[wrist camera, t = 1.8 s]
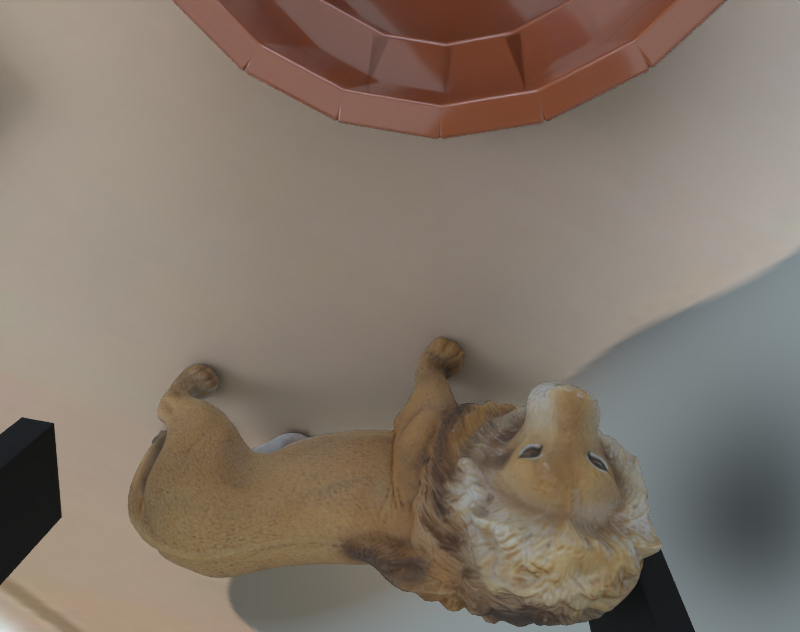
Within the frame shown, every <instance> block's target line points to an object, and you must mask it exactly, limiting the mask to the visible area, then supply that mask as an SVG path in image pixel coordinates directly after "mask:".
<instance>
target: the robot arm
mask: <svg viewBox="0 0 800 632" xmlns="http://www.w3.org/2000/svg"><path fill="white" fill-rule="evenodd" d="M61 517H62V514H61V502H60V490H59V478H58V466H57V454H56V442H55V430H54V423H49V422H44V421H39V420H33V419H28V418H23V417H22V418H20V419H19V420H18V421H17V422H15V423H14V424H13V425H12V426H10V427H9V428H8V429H6V430H5V431H4V432H3V433H1V434H0V585H1V584H2V583H3V581H4V580H5V579H6V578H7V577H8V576H9V575H10V574H11V573H12V572H13V570H14V569H15V568H16V567H17V566H18V565H19V564H20V563H21V562H22V560H23V559H24V558H25V557H26V556H27V555H28V554H29V553H30V552H31V550H32V549H33V548H34V547H35V546H36V545H37V544H38V543H39V542H40V540H41V539H42V538H43V537H44V536H45V535H46V534H47V533H48V532H49V531H50V529H51V528H52V527H53V526H54V525H55V524H56V523H57V522H58V521H59V519H60V518H61ZM589 625H590V629H591V632H695V630H694V628H693V625H692V623H691V621H690V618H689V616H688V614H687V611H686V609H685V606H684V604H683V602H682V599H681V597H680V594H679V592H678V589H677V587H676V584H675V582H674V580H673V578H672V575H671V573H670V570H669V568H668V565H667V563H666V561H665V558H664V556H663V553H662V551H661V549H660V550H659V551H658V552H656V553H655V554H653V555H651V556H648V557H646V558H643V566H642V570H641V572H640V577H639V580H638V581H637V584H636V585H635V587H634V588H633V590H632V591H631V592H630V593H629V594H628V595H627V596H626V597H625V598H624V599H623V600H622V601H621V602H620V603H619V604H618V605H617V606H616V607H615V608H613V609H612V610H611V611H608V612H605V613H604V614H603V615H602V616H601V617H600V618H597V619H593V620H589Z"/></svg>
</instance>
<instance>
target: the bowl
mask: <svg viewBox="0 0 800 632" xmlns="http://www.w3.org/2000/svg"><path fill="white" fill-rule="evenodd" d="M172 1H173V2H174V3H175V4H176V5H177V6H178V7H179V8H180V9H181V10H182V11H183V12H184V13H185V14H186V15H187V16H188V17H189V18H190V19H191V20H192V21H193V22H194V23H195V24H196V25H197V26H198V27H199V28H200V29H201V30H202V31H203V32H204V33H205V34H206V35H207V36H208V37H209V38H210V39H211V40H212V41H213V42H214V43H215V44H216V45H217V46H218V47H219V48H220V49H221V50H222V51H223V52H224V53H225V54H226V55H227V56H228V57H229V58H230V59H231V60H232V61H233V62H234V63H235V64H236V65H237V66H238V67H239V68H240V69H241V70H243V71H245V72H246V73H247V74H248V75H250V76H252V77H254V78H256V79H258V80H260V81H262V82H263V83H265V84H267V85H269V86H271V87H273V88H275V89H277V90H278V91H280V92H282V93H284V94H286V95H288V96H290V97H292V98H293V99H295V100H297V101H299V102H301V103H303V104H305V105H307V106H308V107H310V108H312V109H314V110H316V111H318V112H320V113H322V114H323V115H325V116H327V117H329V118H331V119H333V120H338V122H340V123H345V124H351V125H356V126H362V127H368V128H374V129H380V130H386V131H391V132H397V133H403V134H409V135H415V136H421V137H427V138H432V139H439V137H440V138H442V139H446V138H452V137H459V136H465V135H471V134H478V133H484V132H490V131H497V130H503V129H510V128H516V127H522V126H529V125H535V124H541V123H542V122H544V120H545V121H550V120H552V119H554V118H556V117H558V116H560V115H562V114H564V113H566V112H568V111H570V110H572V109H574V108H576V107H578V106H580V105H582V104H584V103H586V102H588V101H590V100H592V99H594V98H596V97H598V96H600V95H602V94H604V93H606V92H608V91H610V90H612V89H614V88H616V87H618V86H620V85H622V84H624V83H626V82H628V81H630V80H632V79H634V78H636V77H638V76H640V75H642V74H644V73H646V72H647V71H648V70H649V68H653V67H655V66H656V65H657V64H658V63H659V62H660V61H661V60H662V59H664V58H665V57H666V56H667V55H668V54H669V53H670V52H671V51H672V50H673V49H674V48H676V47H677V46H678V45H679V44H680V43H681V42H682V41H683V40H684V39H685V38H687V37H688V36H689V35H690V34H691V33H692V32H693V31H694V30H695V29H696V28H698V27H699V26H700V25H701V24H702V23H703V22H704V21H705V20H706V19H707V18H708V17H710V16H711V15H712V14H713V13H714V12H715V11H716V10H717V9H718V8H719V7H721V6H722V5H723V4H724V3H725V2H726V1H727V0H172Z"/></svg>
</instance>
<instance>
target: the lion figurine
mask: <svg viewBox="0 0 800 632" xmlns="http://www.w3.org/2000/svg"><path fill="white" fill-rule="evenodd" d="M463 357H464V352H463V351H462V350H461V349H460V348H459V347H458V345H457V344H456V343H455V342H453V341H449V340H447V339H445V338H443V337H439V338H437V339H436V340H435V341H433V342H432V343H431V344H430V345H429V346H428V347H427V349H426V350H425V351H424V353H423V354H422V355H421V357H420V359H419V362H418V369H417V372H416V374H415V382H416V384H415V387H414V390H413V392H412V394H411V396H410V398H409V400H408V401H407V403H406V405H405V406H404V408H403V409H402V410H401V411H400V412H399V413H398V415H397V417H396V419H395V421H394V430H392V431H390V430H352V431H343V432H336V433H329V434H324V435H318V436H313V437H309V438H308V437H306V436H304V435H302V434H299V433H286V434H282V435H280V436H278V437H276V438H274V439H273V440H271V441H269V442H267V443H264V444H262V445H260V446H258V447H255V448H253V449H250V448H249V447H248V446H247V445H246V443H245V442H244V441H243V439H242V437H241V436H240V434H239V432H238V431H237V429H236V427H235V426H234V425H233V423H232V422H231V421H230V419H229V418H228V417H227V416H226V415H225V414H224V413H223V412H222V411H221V410H220V409H219V408H217V407H215V406H213V405H211V404H209V403H207V402H205V401H202V400H201V399H204V398H207V397H210V396H212V395H213V394H214V393H215V392H216V390H217V387H218V384H219V378H218V377H217V376H216V375H215V372H214V371H213V370H212V369H211V368H210V367H208V366H206V365H203V364H195V365H192V366H190V367H188V368H187V369H185V370H184V371H183V372H182V373H181V374H180V375H179V376H178V378H177V379H176V380H175V381H174V382H173V384H172V385H171V387H170V388H169V390H168V392H167V393H166V394H165V395H164V396H163V398H162V399H161V401H160V404H159V406H158V409H157V415H158V418H159V419H160V420H161V421H162V422H164V423H165V424H166V426H167V431H160V433H159V435H158V436H156V437H155V438H154V439H153V441H152V445H151V447H150V448H149V449H148V451H147V453H146V454H145V456H144V458H143V459H142V461H141V463H140V465H139V467H138V469H137V471H136V473H135V475H134V478H133V481H132V483H131V486H130V491H129V496H128V511H129V517H130V520H131V523H132V525H133V526H134V528H135V529H136V531H137V532H138V533H139V535H140V536H141V537H142V539H144V540H145V541H146V542H147V543H148V544H149V545H151V546H152V547H154V548H156V549H157V550H158V551H159V553H160V554H161V555H162V556H163V557H164V558H166V559H167V560H169V561H171V562H173V563H175V564H177V565H179V566H182V567H184V568H186V569H189V570H191V571H194V572H197V573H199V574H202V575H205V576H209V577H215V578H224V577H233V576H238V575H242V574H247V573H251V572H256V571H261V570H265V569H271V568H276V567H284V566H294V565H311V564H351V565H353V564H370V565H372V566H373V567H375V568H376V569H377V570H378V571H379V572H380V573H381V575H382V576H383V577H384V578H385V579H386V580H388V581H389V582H390V583H391V584H392V585H394V586H395V587H397V588H399V589H400V590H402V591H406V592H413V593H416V594H418V595H419V596H420V597H421V598H422V599H424V600H425V601H431V602H432V601H439V602H440V603H442V605H443V606H444V607H445V608H446V609H447V610H450V611H459V610H461V609H462V608H463V607H465V608H466V609H467V610H468V611H469V612H470V613H471V614H472V615H477V616H482V617H483V619H484V620H485V621H486V622H489V623H493V624H495V623H497V622H498V621H506V622H508V623H510V624H512V625H515V626H518V627H522V626H526V625H528V624H532V623H535V624H536V625H539V626H541V625H547V626H552V625H560V624H561V625H571V624H575V623H581V622H587V621H589V620H593V619H597V618H600V617H601V616H602V615H603V614H604V613H605V612H608V611H611V610H612V609H613V608H615V607H616V606H617V605H618V604H619V603H620V602H621V601H622V600H623V599H624V598H625V597H626V596H627V595H628V594H629V593H630V592H631V591H632V590H633V588H634V587H635V585H636V584H637V581H638V580H639V577H640V572H641V570H642V566H643V558H646V557H648V556H651V555H653V554H655V553H656V552H658V551H659V550H660V549H661V547H662V543H661V541H660V540H659V539H658V538H657V535H656V531H655V529H654V527H653V525H652V524H651V522H650V519H649V517H648V514H649V512H650V509H649V506H648V505H647V504H646V501H647V490H646V487H645V484H644V481H643V478H642V472H641V468H640V465H639V461H638V459H637V458H636V457H635V456H633V455H631V454H630V453H629V452H628V451H627V450H625V449H624V448H623V447H622V446H621V445H620V444H619V443H618V442H617V441H616V440H615V439H613V438H611V437H610V436H607V435H603V434H602V433H601V431H600V430H599V429H598V426H599V420H600V406H599V403H598V401H597V399H596V398H595V397H594V396H593V395H592V394H591V393H589V392H587V391H585V390H582V389H580V388H578V387H576V386H573V385H569V384H567V383H564V382H558V381H548V382H546V383H542V384H539V385H537V386H536V387H535V388H534V389H532V391H531V392H530V394H529V396H528V400H527V404H526V406H522V407H519V408H517V407H515V406H513V405H511V404H496V403H494V402H492V401H486V402H485V403H484V404H483V405H476V404H471V403H467V404H462V405H459V406H458V405H457V403H456V401H455V399H454V396H453V394H452V391H451V389H450V386H449V383H448V382H447V380H448V378H449V377H451V376H453V375H455V374H456V373H458V372H459V371H460V370H461V369H462V359H463Z"/></svg>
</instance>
